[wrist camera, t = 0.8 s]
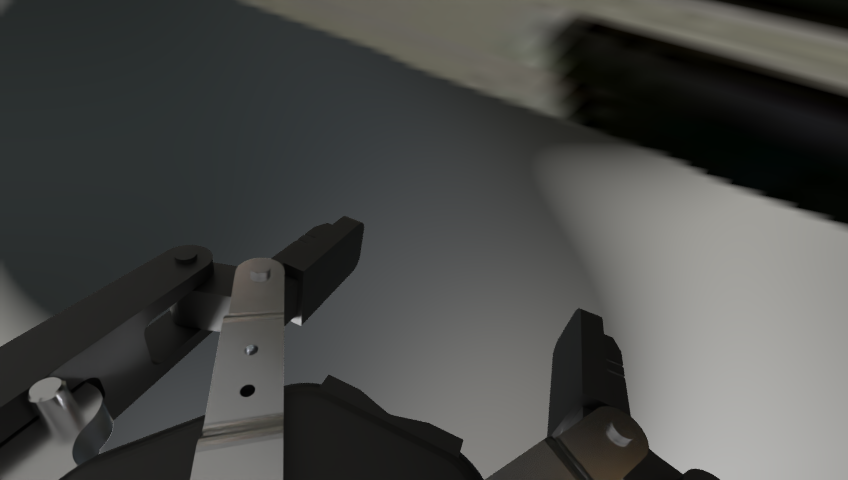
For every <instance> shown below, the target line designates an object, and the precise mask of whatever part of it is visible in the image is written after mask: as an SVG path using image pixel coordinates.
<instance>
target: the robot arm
mask: <svg viewBox="0 0 848 480" xmlns="http://www.w3.org/2000/svg"><path fill="white" fill-rule="evenodd" d="M363 233H364V224H363V223H362V222H359V221H357V220H354V219H351V218H349V217H347V216H343V217H342V218H340V219H339V220H338V221H337V222H335V223H334V224H333V225H331V224H329V223H326V224H323V225H319V226H316V227H314V228H313V229H311V230H310V231H308V232H307V233H306V234H305V235H303V236H301V237H300V238H299V239H298V240H297V241H295V242H293V243H292V244H290V245H289V246H288V247H287V248H285V249H284V250H282V251H281V252H279V253H278V254H277V255H276V256H274V257H273V258H271V259H269V258H255V259H250V260H247V261H245V262H243V263H242V264H240V265H239V266H232V265H226V264H219V263H214V262H213V255H212V253H211V251H210V250H208V249H207V248H205V247H202V246H197V245H184V246H178V247H175V248H172V249H170V250H168V251H166V252H164V253H162V254H161V255H159V256H157V257H156V258H154V259H152V260H150V261H149V262H147V263H145V264H143V265H141V266H140V267H138V268H136V269H135V270H133V271H131V272H129V273H128V274H126V275H124V276H122V277H121V278H119V279H117V280H115V281H114V282H112V283H110V284H109V285H107V286H105V287H103V288H102V289H100V290H98V291H96V292H95V293H93V294H91V295H89V296H88V297H86V298H84V299H82V300H81V301H79V302H77V303H75V304H74V305H72V306H71V307H69V308H67V309H65V310H64V311H62V312H60V313H58V314H56V315H55V316H53V317H51V318H49V319H48V320H46V321H44V322H43V323H41V324H39V325H37V326H36V327H34V328H32V329H30V330H29V331H27V332H25V333H23V334H22V335H20V336H18V337H17V338H15V339H13V340H11V341H10V342H8V343H6V344H5V345H3V346H1V347H0V480H484V479H483V478H482V476H481V474H480V473H479V472H478V470H477V469H476V468H475V467H474V465H473V464H472V463H471V462H470V461H469V460H468V459H467V458H466V457H465V456H464V455H463V454H462V453H461V452H460V450H461V447H462V443H463V439H461V438H459V437H456V436H454V435H452V434H450V433H448V432H446V431H444V430H442V429H440V428H438V427H436V426H434V425H432V424H430V423H426V422H422V421H417V420H412V419H407V418H403V417H398V416H394V415H390V414H388V413H387V412H386V411H384V410H383V409H382V408H381V407H380V406H379V405H377V404H376V403H375V402H374V401H372V399H370V398H369V397H368V396H367V395H366V394H364V393H363V392H362V391H361V390H359V389H357V388H355V387H353V386H351V385H349V384H347V383H345V382H343V381H341V380H339V379H337V378H335V377H332V376H331V375H328V376H327V378H326V379H325V380H324V382H323V383H322V384H317V383H296V384H290V385H286V386H284V326H286V325H287V324H288V323H289V322H290V321H292V322H294V323H296V324H298V325H300V326H302V325H303V323H304V322H305V321H306V320H307V319H308V318H309V317H310V316H311V315H312V314H313V313H314V312H315V311H316V310H317V309H318V308H319V307H320V305H322V303H323V302H324V301H325V300H326V299H327V298H328V297H329V296H330V295H331V294H332V293H333V292H334V291H335V290H336V289H337V288H338V287H339V285H340V284H341V283H342V282H343V281H344V280H345V279H346V278H347V277H348V276H349V275H350V274H351V273H352V272H353V271H354V269H355V268H356V266H357V264H358V261H359V258H360V253H361V246H362V240H363ZM169 307H170V311H168V312H167V313H166V314H164V315H163V316H161V317H160V318H159V319H157V320H156V321H155V322H153V323H152V324H151V325H149V326H148V324H149V323H150V322H151V321H152V320H153V319H154V318H156V317H157V316H158V315H160V314H161V313H162V312H164V311H165V310H167V309H168V308H169ZM147 326H148V327H147ZM213 331H219V332H220V338H219V343H218V348H217V354H216V359H215V365H214V371H213V376H212V382H211V387H210V393H209V398H208V404H207V409H206V414H205V415H203V416H200V417H197V418H195V419H192V420H189V421H187V422H184V423H181V424H179V425H176V426H173V427H171V428H168V429H165V430H163V431H160V432H157V433H154V434H152V435H149V436H146V437H143V438H141V439H139V440H136V441H133V442H130V443H127V444H125V445H122V446H119V447H117V448H114V449H111V450H109V451H106V452H104V453H101V454H99V452H100V449H101V448H102V447H103V446H104V444H105V443H106V442H107V440H108V439H109V437H110V435H111V433H112V430H113V420H114V419H116V418H117V417H118V416H119V415H120V414H121V413H122V412H123V411H125V410H126V409H127V408H128V407H129V406H130V405H131V404H132V403H133V402H135V401H136V400H137V399H138V398H139V397H140V396H141V395H142V394H144V393H145V392H146V391H147V390H148V389H149V388H150V387H151V386H152V385H154V384H155V383H156V382H157V381H158V380H159V379H160V378H161V377H163V376H164V375H165V374H166V373H167V372H168V371H169V370H170V369H171V368H173V367H174V366H175V365H176V364H177V363H178V362H179V361H180V360H181V359H183V358H184V357H185V356H186V355H187V354H188V353H189V352H190V351H191V350H193V349H194V348H195V347H196V346H197V345H198V344H199V343H201V342H202V341H203V340H204V339H205V338H206V337H207V336H208V335H209V334H211V333H212V332H213ZM622 366H623V361H622V355H621V351H620V349H619V347H618V346H617V344H616V342H615V341H614V339H613V338H612V337H610V336H607V335H605V334H604V331H603V320H602V317H600V316H598V315H595V314H592V313H590V312H587V311H585V310H582V309H580V308H578V309H577V310H576V311H575V312H574V314H573V316H572V317H571V319H570V321H569V322H568V324H567V326H566V327H565V329H564V330H563V332H562V334H561V336H560V337H559V339H558V341H557V343H556V345H555V348H554V352H553V359H552V374H551V388H550V403H549V417H548V418H549V419H548V432H547V438H545V439H544V440H542V441H541V442H539V443H538V444H536V445H535V446H533V447H532V448H531V449H529V450H528V451H526V452H525V453H523V454H522V455H520V456H519V457H517V458H516V459H515V460H513V461H512V462H510V463H509V464H507V465H506V466H504V467H503V468H501V469H500V470H498V471H497V472H496V473H494V474H493V475H491V476H490V477H488V478H487V479H485V480H720V479H718V478H717V477H716V476H714V475H712V474H710V473H708V472H706V471H704V470H700V469H690V470H688V471H687V472H686V473H684V474H682V473H680V472H679V471H678V470H676V469H675V468H674V467H672V466H671V465H669V464H668V463H667V462H665V461H664V460H662V459H661V458H660V457H659V456H657V455H656V454H655V453H654V452H652V451H651V450H650V449H649V445H648V440H647V437H646V435H645V433H644V432H643V430H642V428H641V427H640V426H639V425H638V423H637V422H636V421H635V420H634V419H633V418H632V417H631V415H630V408H629V402H628V395H627V388H626V382H625V378H624V376H625V375H624V368H623V367H622Z"/></svg>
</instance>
